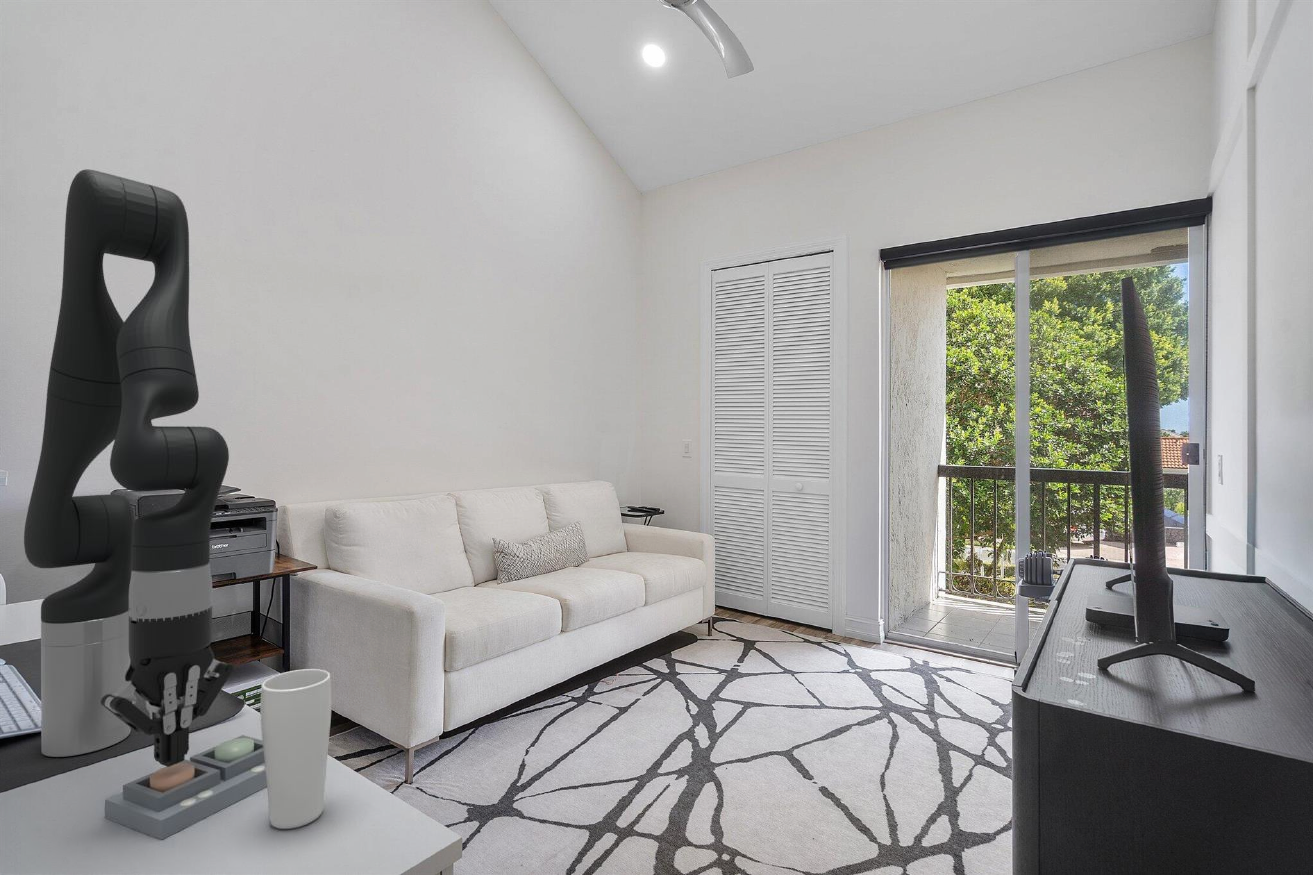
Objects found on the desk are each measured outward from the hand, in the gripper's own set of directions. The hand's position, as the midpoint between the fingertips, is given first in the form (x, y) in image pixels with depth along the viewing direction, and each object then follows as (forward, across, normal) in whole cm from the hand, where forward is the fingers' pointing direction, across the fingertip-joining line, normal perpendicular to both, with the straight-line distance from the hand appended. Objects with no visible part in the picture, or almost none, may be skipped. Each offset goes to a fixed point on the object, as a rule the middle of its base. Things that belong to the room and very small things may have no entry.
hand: (171, 762), depth 75 cm
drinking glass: (+5, -4, +14) cm, 16 cm away
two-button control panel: (+5, -4, 0) cm, 6 cm away
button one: (+3, -7, 0) cm, 8 cm away
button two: (+3, 0, 0) cm, 3 cm away
